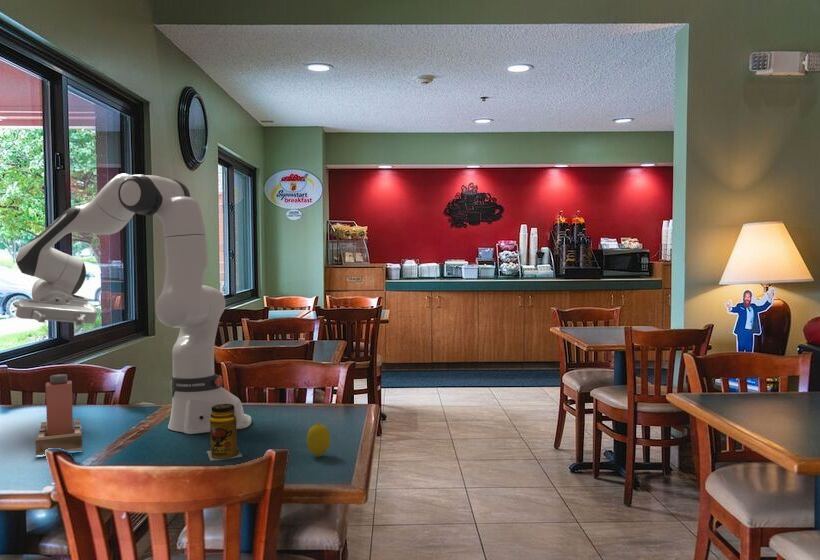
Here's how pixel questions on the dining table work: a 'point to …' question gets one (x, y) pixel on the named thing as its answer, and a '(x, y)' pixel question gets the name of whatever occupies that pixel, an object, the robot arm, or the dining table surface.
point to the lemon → (318, 439)
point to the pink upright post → (59, 405)
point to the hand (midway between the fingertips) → (61, 321)
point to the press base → (59, 439)
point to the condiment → (223, 433)
